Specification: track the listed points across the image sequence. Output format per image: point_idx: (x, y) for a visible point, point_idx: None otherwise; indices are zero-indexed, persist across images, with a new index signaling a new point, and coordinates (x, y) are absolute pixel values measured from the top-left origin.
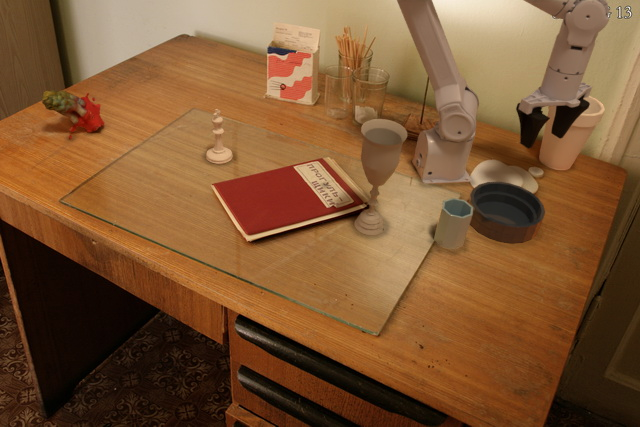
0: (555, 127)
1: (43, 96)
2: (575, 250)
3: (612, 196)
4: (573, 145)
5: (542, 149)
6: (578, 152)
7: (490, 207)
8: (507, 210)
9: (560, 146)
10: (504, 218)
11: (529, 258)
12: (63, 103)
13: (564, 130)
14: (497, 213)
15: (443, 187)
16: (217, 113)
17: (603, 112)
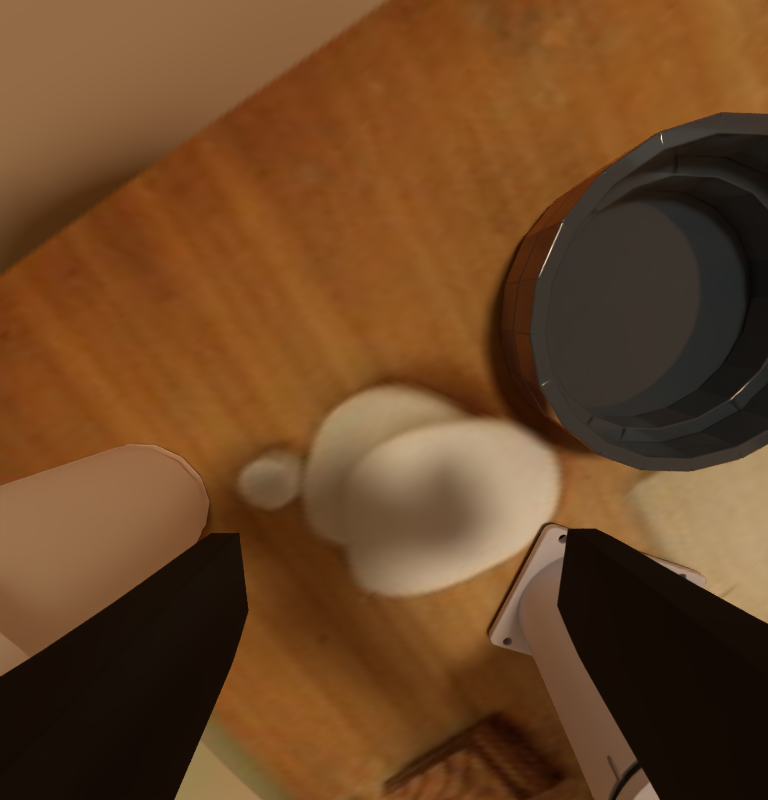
0: (220, 653)
1: None
2: (515, 22)
3: (77, 230)
4: (69, 500)
5: None
6: (55, 469)
7: (617, 383)
8: (576, 341)
9: (136, 527)
10: (626, 309)
11: (723, 80)
12: None
13: (193, 586)
14: (623, 345)
15: (648, 539)
16: None
17: None
